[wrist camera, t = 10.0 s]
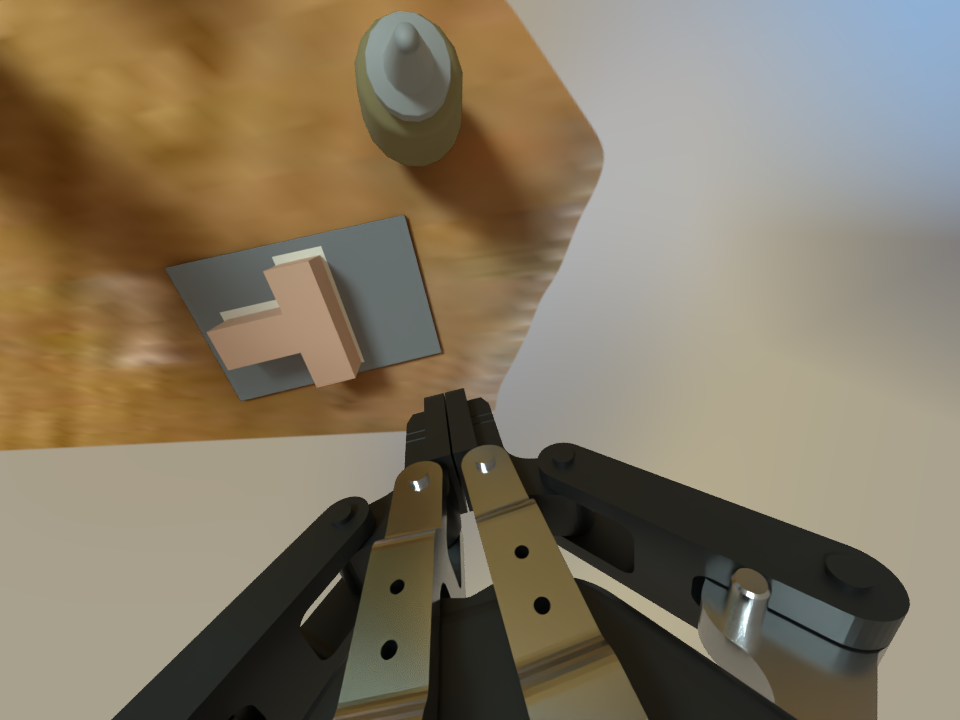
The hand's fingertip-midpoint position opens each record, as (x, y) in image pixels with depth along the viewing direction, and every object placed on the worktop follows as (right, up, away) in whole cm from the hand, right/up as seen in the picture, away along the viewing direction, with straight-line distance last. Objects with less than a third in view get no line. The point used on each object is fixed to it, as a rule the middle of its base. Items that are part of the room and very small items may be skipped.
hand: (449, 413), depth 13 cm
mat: (-16, +7, +25) cm, 30 cm away
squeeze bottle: (-5, +24, +19) cm, 31 cm away
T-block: (-19, +6, +24) cm, 31 cm away
